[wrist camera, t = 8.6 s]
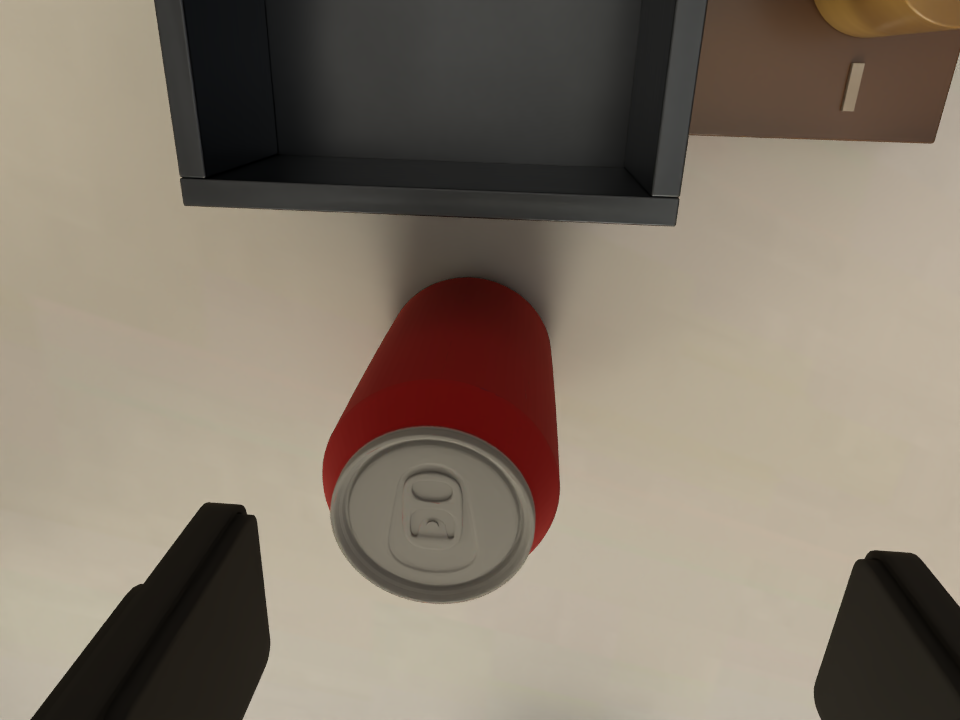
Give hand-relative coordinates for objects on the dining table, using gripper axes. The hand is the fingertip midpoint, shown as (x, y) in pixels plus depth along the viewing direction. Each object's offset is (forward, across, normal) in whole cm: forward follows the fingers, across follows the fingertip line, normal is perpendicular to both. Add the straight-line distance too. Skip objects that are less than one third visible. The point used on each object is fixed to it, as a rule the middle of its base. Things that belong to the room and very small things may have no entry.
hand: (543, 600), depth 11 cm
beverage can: (+18, +2, +3) cm, 18 cm away
